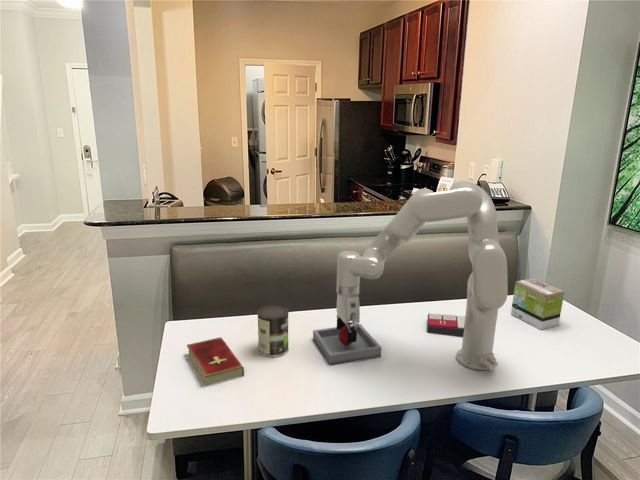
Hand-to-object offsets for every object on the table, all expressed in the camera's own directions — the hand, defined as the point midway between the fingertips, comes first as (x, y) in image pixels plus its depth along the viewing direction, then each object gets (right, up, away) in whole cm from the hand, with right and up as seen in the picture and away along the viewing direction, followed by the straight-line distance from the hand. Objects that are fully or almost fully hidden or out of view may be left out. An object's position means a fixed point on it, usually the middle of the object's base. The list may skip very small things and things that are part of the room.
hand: (346, 335), depth 158 cm
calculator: (+39, -1, +17) cm, 43 cm away
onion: (0, -4, +1) cm, 4 cm away
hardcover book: (-42, -8, -10) cm, 44 cm away
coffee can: (-25, -5, 0) cm, 25 cm away
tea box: (+75, +1, +25) cm, 79 cm away
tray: (0, -5, +1) cm, 5 cm away
